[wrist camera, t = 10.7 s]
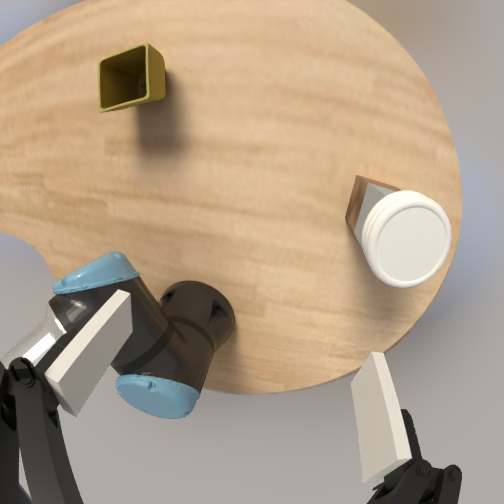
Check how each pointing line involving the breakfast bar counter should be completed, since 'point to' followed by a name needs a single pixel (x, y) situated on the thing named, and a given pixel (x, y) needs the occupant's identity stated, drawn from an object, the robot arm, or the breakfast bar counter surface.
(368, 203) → the block top
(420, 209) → the white round disc
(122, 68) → the flower pot
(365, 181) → the block bottom
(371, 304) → the breakfast bar counter surface
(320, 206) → the breakfast bar counter surface
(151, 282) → the breakfast bar counter surface
